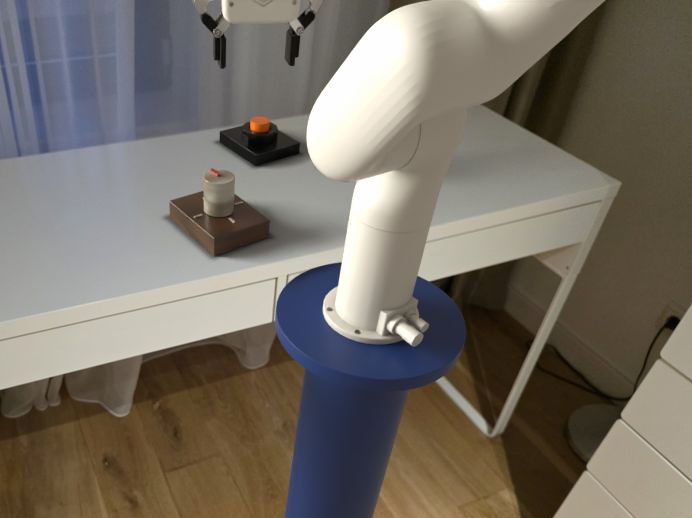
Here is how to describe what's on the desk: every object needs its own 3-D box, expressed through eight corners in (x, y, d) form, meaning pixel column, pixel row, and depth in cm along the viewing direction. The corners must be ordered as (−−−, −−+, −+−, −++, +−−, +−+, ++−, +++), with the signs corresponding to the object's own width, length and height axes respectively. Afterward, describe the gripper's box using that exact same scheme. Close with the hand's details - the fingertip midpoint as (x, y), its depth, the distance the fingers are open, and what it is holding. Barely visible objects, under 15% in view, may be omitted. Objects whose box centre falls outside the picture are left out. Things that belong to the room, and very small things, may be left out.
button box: (299, 154, 122) (301, 133, 120) (255, 166, 118) (256, 145, 115) (261, 131, 130) (262, 111, 127) (219, 142, 125) (219, 121, 123)
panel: (269, 237, 100) (270, 219, 98) (213, 256, 96) (214, 237, 94) (222, 201, 108) (222, 183, 106) (169, 217, 104) (168, 199, 102)
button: (273, 131, 121) (274, 121, 120) (257, 135, 120) (258, 125, 118) (262, 124, 123) (262, 115, 122) (246, 128, 122) (246, 118, 121)
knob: (239, 212, 100) (241, 176, 96) (214, 220, 98) (214, 184, 94) (223, 199, 102) (223, 164, 99) (198, 207, 101) (197, 172, 97)
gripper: (195, -76, 76) (197, 76, 87) (340, -77, 78) (323, 71, 90) (187, -87, 81) (190, 57, 93) (322, -88, 84) (309, 53, 95)
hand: (255, 64), depth 91 cm, fingers open, 9 cm apart
